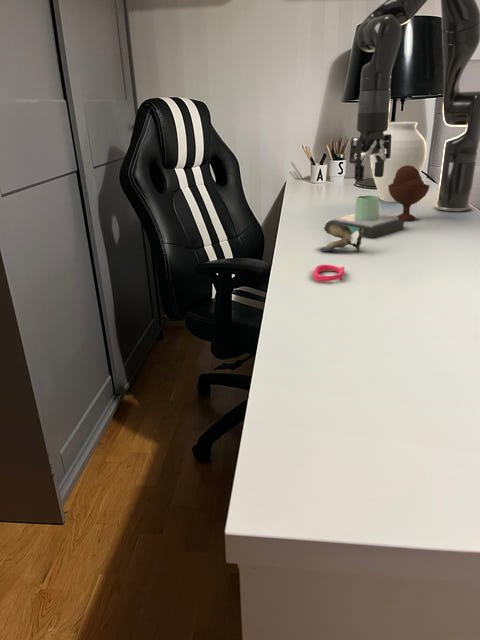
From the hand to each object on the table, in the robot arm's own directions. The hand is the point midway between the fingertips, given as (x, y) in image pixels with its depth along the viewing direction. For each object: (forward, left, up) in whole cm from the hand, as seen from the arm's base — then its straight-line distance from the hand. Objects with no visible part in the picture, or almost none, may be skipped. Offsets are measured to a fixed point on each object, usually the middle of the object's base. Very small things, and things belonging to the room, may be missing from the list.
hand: (369, 178), depth 129 cm
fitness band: (+38, +18, -13) cm, 44 cm away
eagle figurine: (+21, +8, -13) cm, 26 cm away
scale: (0, 0, -13) cm, 13 cm away
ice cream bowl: (-18, +1, -13) cm, 22 cm away
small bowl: (0, 0, -10) cm, 10 cm away
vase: (-42, -18, -13) cm, 47 cm away
